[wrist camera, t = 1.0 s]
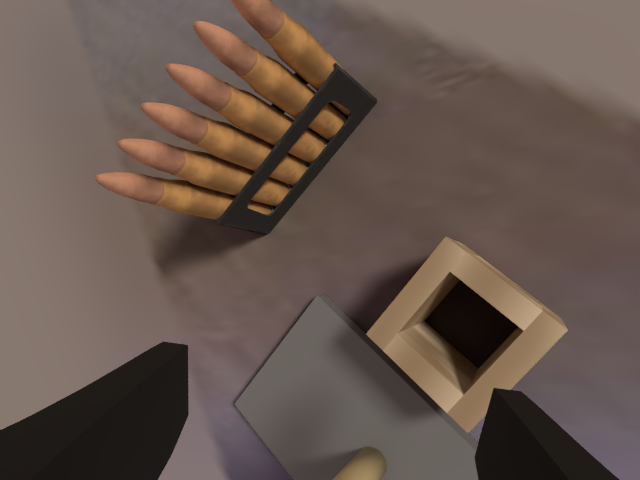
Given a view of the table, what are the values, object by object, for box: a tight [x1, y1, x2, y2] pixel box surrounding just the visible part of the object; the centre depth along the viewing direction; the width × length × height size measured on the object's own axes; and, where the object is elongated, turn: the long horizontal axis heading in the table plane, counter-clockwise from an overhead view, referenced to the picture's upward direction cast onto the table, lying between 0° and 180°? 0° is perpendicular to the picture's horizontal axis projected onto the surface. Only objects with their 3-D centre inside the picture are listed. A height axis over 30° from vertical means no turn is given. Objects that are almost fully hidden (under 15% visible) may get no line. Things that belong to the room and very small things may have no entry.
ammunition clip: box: [95, 0, 377, 235], centre depth 20 cm, size 11×2×12 cm, turn 135°
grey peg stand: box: [235, 294, 478, 480], centre depth 20 cm, size 16×9×6 cm, turn 50°
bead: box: [366, 237, 568, 433], centre depth 19 cm, size 5×5×5 cm
